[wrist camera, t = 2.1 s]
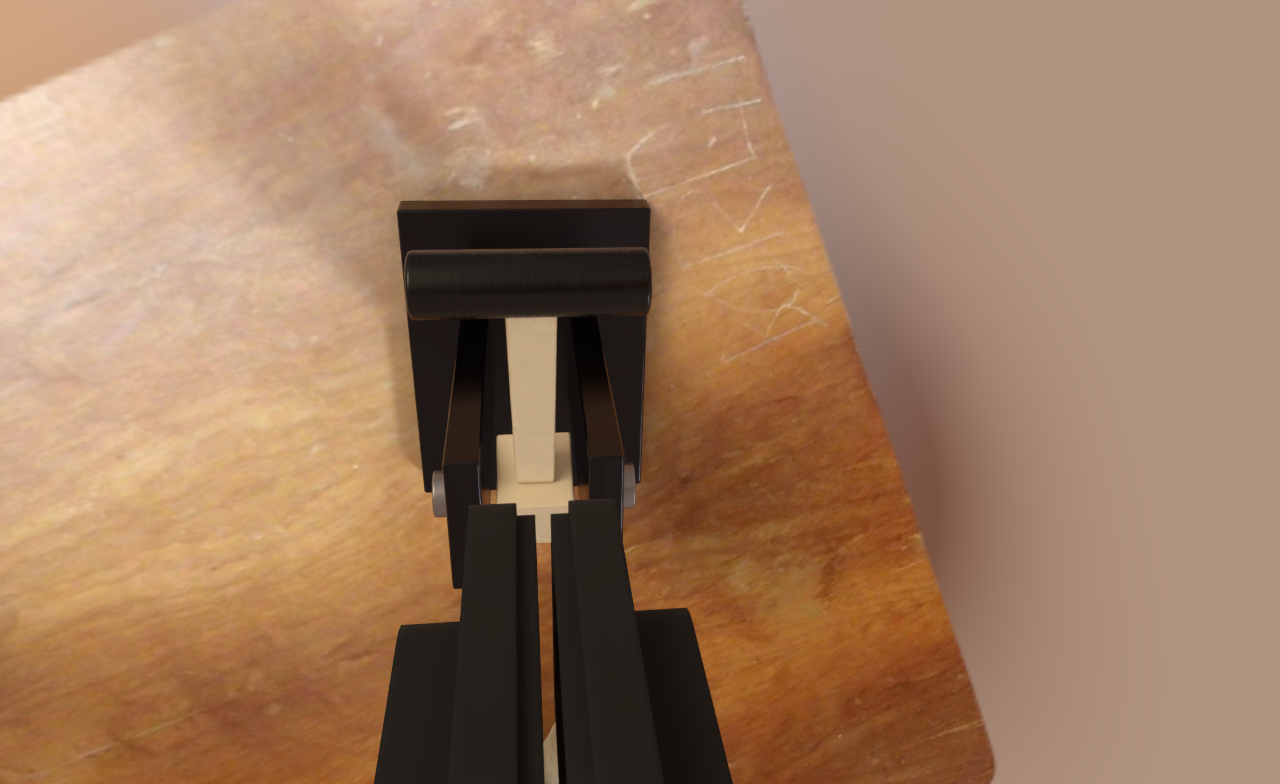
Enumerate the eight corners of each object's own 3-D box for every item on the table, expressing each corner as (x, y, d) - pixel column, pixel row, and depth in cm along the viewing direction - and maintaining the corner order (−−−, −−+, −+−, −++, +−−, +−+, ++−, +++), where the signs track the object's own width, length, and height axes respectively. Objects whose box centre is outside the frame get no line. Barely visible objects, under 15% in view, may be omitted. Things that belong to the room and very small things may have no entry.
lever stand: (399, 200, 33) (348, 338, 23) (646, 198, 34) (704, 330, 24) (427, 477, 39) (395, 688, 28) (637, 468, 40) (681, 668, 30)
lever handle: (406, 217, 19) (401, 311, 18) (645, 216, 20) (656, 306, 18) (455, 477, 29) (454, 548, 28) (611, 471, 30) (617, 540, 29)
